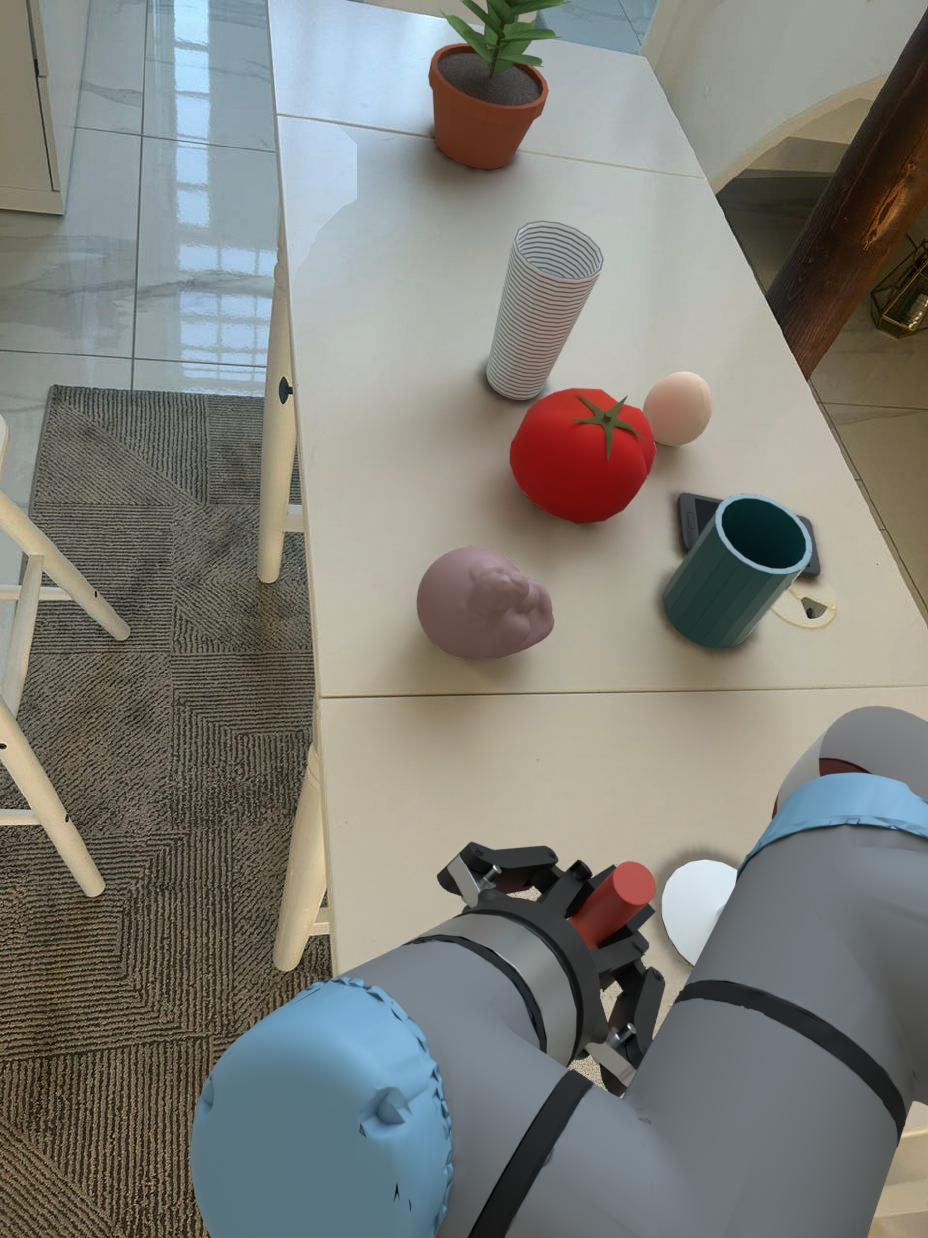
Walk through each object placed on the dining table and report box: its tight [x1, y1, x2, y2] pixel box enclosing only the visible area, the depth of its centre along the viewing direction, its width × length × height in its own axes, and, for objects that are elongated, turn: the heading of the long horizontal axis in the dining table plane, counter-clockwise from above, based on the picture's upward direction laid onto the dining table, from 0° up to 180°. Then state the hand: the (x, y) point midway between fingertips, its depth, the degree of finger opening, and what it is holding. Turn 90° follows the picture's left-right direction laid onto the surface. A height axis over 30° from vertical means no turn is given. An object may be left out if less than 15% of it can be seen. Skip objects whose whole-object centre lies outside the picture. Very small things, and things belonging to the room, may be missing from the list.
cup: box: [485, 220, 605, 401], centre depth 93 cm, size 8×8×16 cm
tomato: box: [509, 387, 658, 525], centre depth 88 cm, size 13×12×11 cm
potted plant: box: [428, 0, 573, 170], centre depth 111 cm, size 15×15×30 cm
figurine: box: [416, 546, 555, 661], centre depth 76 cm, size 9×11×12 cm
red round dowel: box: [567, 860, 657, 950], centre depth 57 cm, size 2×2×15 cm
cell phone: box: [677, 492, 822, 579], centre depth 94 cm, size 7×14×1 cm, turn 87°
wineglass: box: [661, 705, 928, 967], centre depth 62 cm, size 9×10×23 cm
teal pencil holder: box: [662, 492, 812, 650], centre depth 83 cm, size 8×8×11 cm
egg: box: [641, 371, 713, 447], centre depth 97 cm, size 7×7×8 cm
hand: (619, 901), depth 61 cm, fingers closed on red round dowel, 2 cm apart
